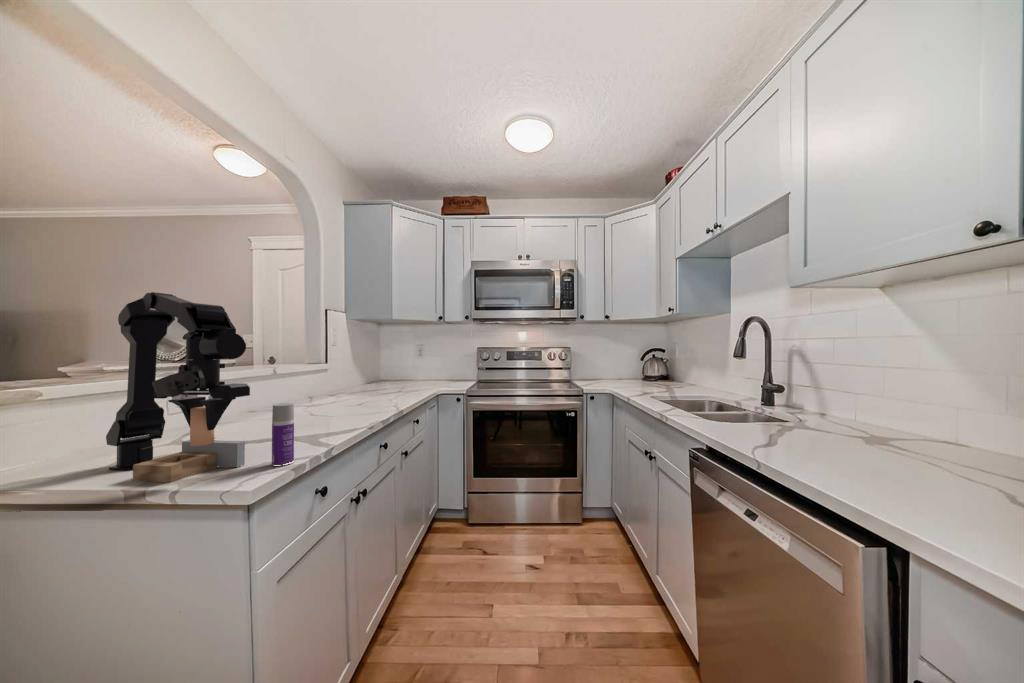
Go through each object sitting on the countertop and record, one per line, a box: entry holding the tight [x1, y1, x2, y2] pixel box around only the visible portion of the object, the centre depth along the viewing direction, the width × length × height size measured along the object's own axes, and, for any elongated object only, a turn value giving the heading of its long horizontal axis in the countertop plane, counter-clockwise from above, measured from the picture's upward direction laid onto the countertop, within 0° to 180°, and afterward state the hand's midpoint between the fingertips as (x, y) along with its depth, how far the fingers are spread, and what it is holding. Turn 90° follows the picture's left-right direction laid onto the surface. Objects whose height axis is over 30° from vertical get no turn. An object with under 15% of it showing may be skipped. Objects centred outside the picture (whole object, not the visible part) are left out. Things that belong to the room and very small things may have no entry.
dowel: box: [189, 406, 215, 446], centre depth 77 cm, size 4×4×8 cm
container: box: [271, 402, 295, 466], centre depth 88 cm, size 5×5×15 cm
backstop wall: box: [181, 439, 246, 468], centre depth 87 cm, size 16×2×6 cm, turn 82°
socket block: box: [132, 451, 217, 483], centre depth 81 cm, size 10×10×4 cm
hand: (202, 429), depth 77 cm, fingers closed on dowel, 4 cm apart
